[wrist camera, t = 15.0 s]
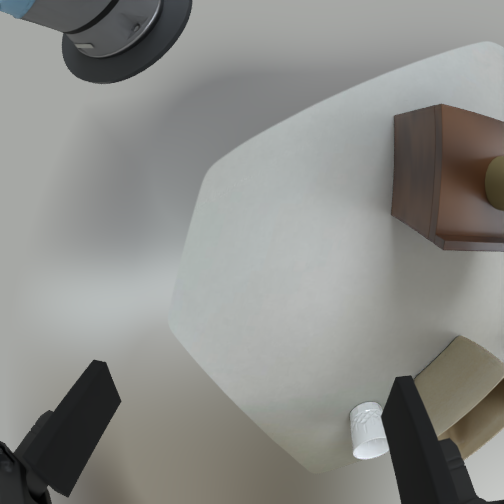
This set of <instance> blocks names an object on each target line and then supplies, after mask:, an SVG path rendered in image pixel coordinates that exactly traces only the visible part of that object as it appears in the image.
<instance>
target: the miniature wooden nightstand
mask: <svg viewBox="0 0 504 504" xmlns="http://www.w3.org/2000/svg"><path fill="white" fill-rule="evenodd" d="M498 156H504V122H502V121H500V120H497V119H494V118H491V117H487V116H484V115H481V114H478V113H474V112H471V111H467V110H464V109H460V108H456V107H452V106H448V105H444V104H439V105H434V106H430V107H426V108H422V109H418V110H414V111H410V112H406V113H402V114H399V115H395V116H394V180H393V198H392V211H391V215H393V216H394V217H396V218H397V219H399V220H400V221H402V222H403V223H405V224H406V225H408V226H409V227H411V228H412V229H414V230H415V231H417V232H418V233H420V234H421V235H423V236H424V237H425V238H427V239H429V240H430V241H431V242H433V243H434V244H435V245H437V246H438V247H440V248H441V249H442V250H457V251H500V252H504V211H501V210H497V209H495V208H494V207H493V206H492V205H491V204H490V202H489V200H488V198H487V194H486V191H485V177H486V172H487V169H488V166H489V164H490V163H491V162H492V160H493V159H495V158H496V157H498Z"/></svg>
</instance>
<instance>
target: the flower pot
mask: <svg viewBox="0 0 504 504" xmlns="http://www.w3.org/2000/svg"><path fill="white" fill-rule="evenodd" d="M414 383H415V385H416V388H417V390H418V392H419V394H420V397H421V399H422V401H423V403H424V406H425V408H426V410H427V413H428V415H429V418H430V420H431V423H432V425H433V428H434V430H435V433H436V435H437V438H438V440H443V439H447V438H450V439H451V440H452V441H453V442H454V443H455V444H456V445H457V446H458V448H459V451H460V453H461V458H463V461H464V460H465V459H466V458H468V457H469V456H470V455H472V454H473V453H475V452H476V451H477V450H478V449H480V448H481V447H482V446H483V445H485V444H486V443H487V442H488V441H490V440H491V439H492V438H493V437H494V436H496V435H497V434H498V433H499V432H500V431H501V430H502V429H503V428H504V363H503V362H501V361H500V360H499V359H498V358H497V357H495V356H494V355H493V354H491V353H490V352H489V351H487V350H486V349H484V348H483V347H481V346H480V345H478V344H476V343H475V342H473V341H471V340H469V339H467V338H465V337H463V336H458V337H457V338H455V340H454V341H453V342H452V343H451V344H450V345H449V346H448V347H447V348H446V349H445V350H444V351H443V352H442V353H441V354H440V355H439V356H438V357H437V358H436V359H435V360H434V361H433V362H432V363H431V364H430V365H429V366H428V367H427V368H426V369H424V370H423V371H422V372H421V373H420V374H419V375H418V376H417V377H416V378H415V380H414Z"/></svg>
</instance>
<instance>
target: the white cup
mask: <svg viewBox="0 0 504 504" xmlns="http://www.w3.org/2000/svg"><path fill="white" fill-rule="evenodd" d="M382 412H383V411H382V408H381V406H380V405H379V404H378V403H376V402H365V403H362V404H360V405H358V406H356V407H355V408H354V409H353V410H352V411H351V413H350V421H351V426H350V427H351V438H352V448H353V455H354V457H356V458H358V459H371V458H375V457H378V456H381V455H383V454H384V453H386V452H388V451H389V446H388V443H387V439H386V435H385V431H384V427H383V424H382V420H381V415H382Z"/></svg>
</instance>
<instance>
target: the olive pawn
mask: <svg viewBox="0 0 504 504" xmlns="http://www.w3.org/2000/svg"><path fill="white" fill-rule="evenodd" d="M485 191H486V194H487V198H488V200H489V202H490V204H491V205H492V206H493V207H494V208H495V209H497V210H501V211H504V156H498V157H496V158H495V159H493V160H492V162H491V163H490V164H489V166H488V169H487V172H486V177H485Z"/></svg>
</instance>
